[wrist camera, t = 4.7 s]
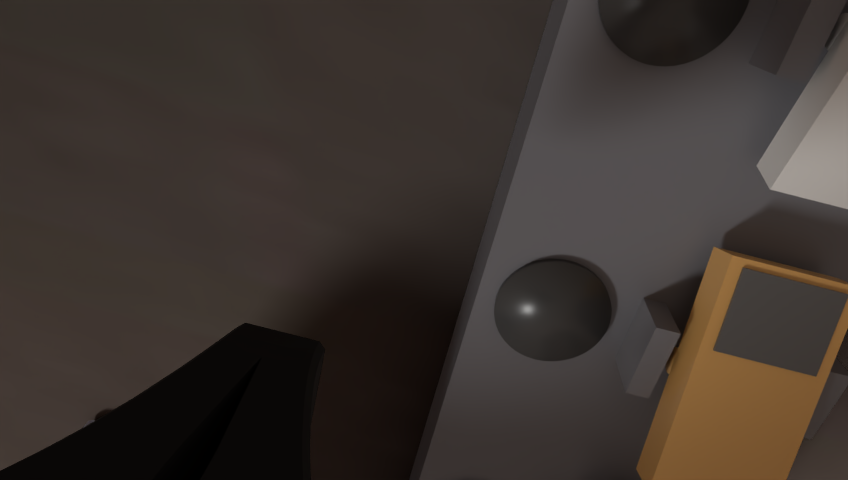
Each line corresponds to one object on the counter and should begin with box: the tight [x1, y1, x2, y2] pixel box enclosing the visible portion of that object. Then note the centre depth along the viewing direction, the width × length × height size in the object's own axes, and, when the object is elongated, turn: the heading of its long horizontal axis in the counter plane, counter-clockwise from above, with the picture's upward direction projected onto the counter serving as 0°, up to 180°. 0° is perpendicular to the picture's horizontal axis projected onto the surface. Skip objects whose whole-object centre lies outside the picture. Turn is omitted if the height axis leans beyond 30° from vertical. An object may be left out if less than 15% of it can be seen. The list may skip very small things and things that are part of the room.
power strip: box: [409, 0, 848, 480], centre depth 17 cm, size 26×9×4 cm, turn 167°
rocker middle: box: [636, 247, 848, 480], centre depth 15 cm, size 6×3×2 cm, turn 167°
